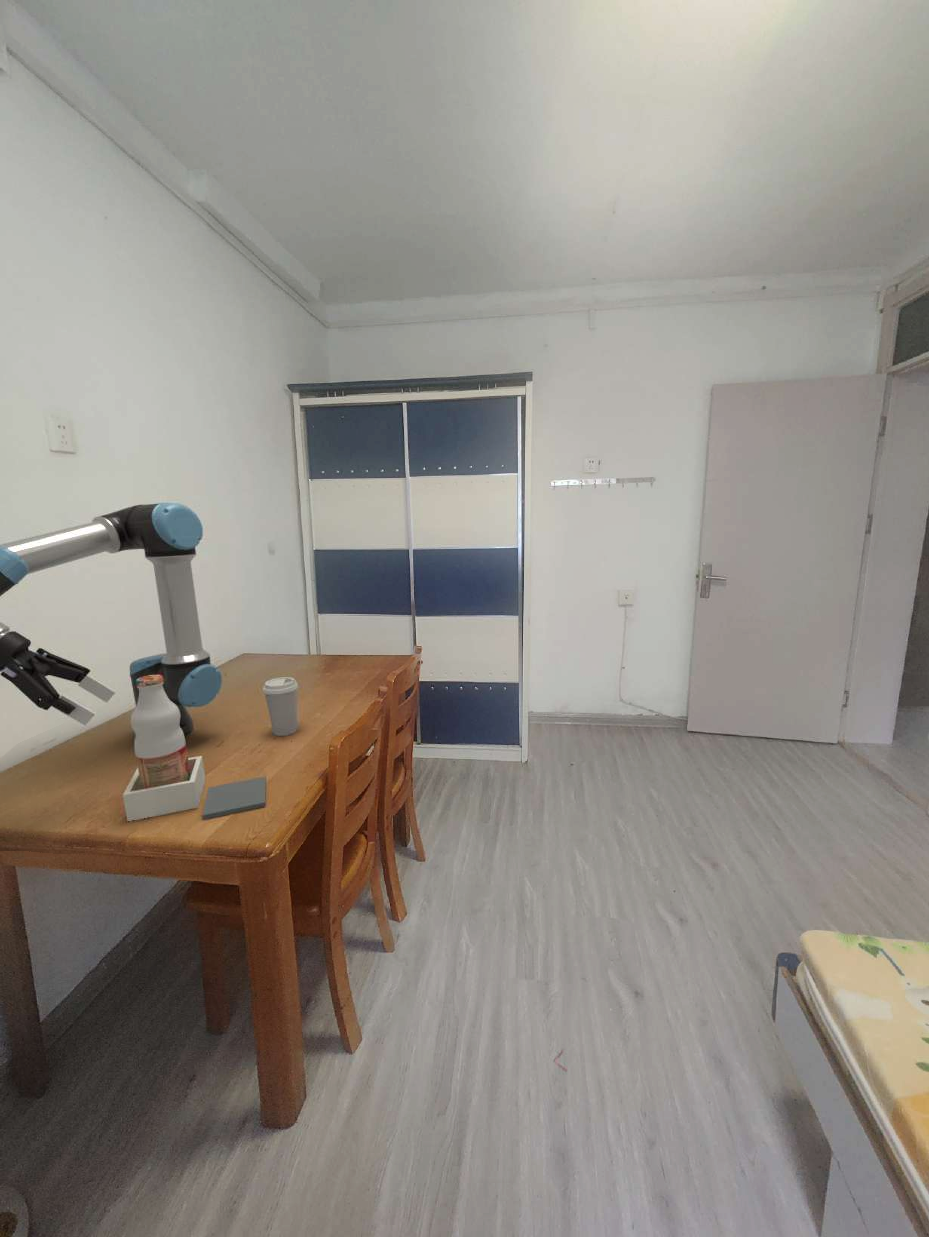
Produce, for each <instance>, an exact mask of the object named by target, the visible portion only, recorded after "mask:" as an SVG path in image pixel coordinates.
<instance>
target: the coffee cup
mask: <svg viewBox="0 0 929 1237" xmlns="http://www.w3.org/2000/svg"><path fill="white" fill-rule="evenodd" d="M298 688H299V684H298V683H297V681H296V680H295V678H293V677H289V676H287V677H285V676H284V677H282V676H281V677H276V678H271V679H269V680H267V681H265V683H264V686H263V687H262V693H263V694H264V696H265V701H266V706H267V709H268V713H269V714H268V715H269V717H270V718H269V719H270V723H271V728H272V732H273V735H274V736H277V737H285V736H286V737H287V736H291V735H293V734H295V733H297V731H298ZM290 734H291V735H290Z"/></svg>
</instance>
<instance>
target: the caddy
mask: <svg viewBox="0 0 929 1237" xmlns="http://www.w3.org/2000/svg"><path fill="white" fill-rule="evenodd" d="M188 762H189V769H190V775H191V778H190V781H185V782H179V783H174V784H169V785H163V786H158V787H152V788H147V789H141V783H140V777H139V772H138V767H137V768H136V770H135V772H134V774H133V776H132V778H131V779H130V781H129V783H128V785H127V786H126V789H125V791H124V792H123V794H122V797H123V798H122V799H123V804H124V810H125V815H126V820H127V822H128V821H130V822H133V821H132V820H135V821H139V820H144V818H145V819H148V817H149V818H152V817H153V818H155V817H158V816H163V815H169V814H173V813H179V812H182V811H183V812H184V811H187V810H188V811H189V810H194V809H198V808H199V806H200V803H201V802H200V801H201V798H202V794H203V791H204V787H205V784H206V782H205V781H206V772H205V766H204V760H203V756H202V755H200V756H194V757H193V756H192V757H188Z"/></svg>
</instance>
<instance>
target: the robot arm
mask: <svg viewBox="0 0 929 1237" xmlns="http://www.w3.org/2000/svg"><path fill="white" fill-rule="evenodd" d="M203 533H204V531H203V525H202V522H201V519H200V518H199V516H198V514H197V513H196V512H195V511H193V510H192V509H191V508H190V507H188V506H187V505H184V504H181V503H174V502H161V503H151V504H137V505H132V506H128V507H125V508H121V509H120V510H117V511H113V512H110V513H107V514H103V515H99V516H95V517H94V518H93V519H92V520H91V522H88V523H83V524H81V525H76V526H73V527H68V528H63V529H59V530H56V531H50V532H47V533H43V534H39V535H34V536H31V537H28V538H27V537H26V538H23V539H18V540H14V541H10V542H6V543H3V544H0V597H2V596H3V595H4V594H5V593H7V592H8V591H9V590H11V589H12V588H13V587H15V586H16V585H18V584H19V582H21V581H22V580H23V579H24V578H25V577H26V576H27V575H28V574H29V575H31V574H34V573H36V572H40V571H43V570H47V569H51V568H54V567H57V566H61V565H63V564H67V563H71V562H74V561H77V560H81V559H84V558H88V557H90V556H94V555H99V554H101V553H104V552H107V553H108V554H116V553H119V552H122V551H123V552H124V551H130V550H132V551H133V550H143V551H144V558H145V559H147V561H150V563H152V565H153V571H154V577H155V584H156V591H157V597H158V604H159V610H160V611H159V612H160V618H161V624H162V631H163V638H164V645H165V651H166V652H165V653H159V654H154V655H150V656H146V657H145V656H144V657H142V658H138V659H136V660H134V661H132V662H131V663H130V664H129V677H130V680H131V688H132V693H133V697H134V704H135V707H136V706H137V703H138V698H139V688H137V685H136V680H137V679H138V678H141V677H144V676H148V675H162V676H163V679H164V681H163V682H164V683H163V689H164V691H165V693H166V695H167V697H168V698H169V699H170V701H172V702H173V703H174V704H175V705H177V707H178V708H179V711H180V723H179V725H180V728H181V729H182V731H183V733H184V736H186V735H187V734H189V733H191V732H192V731H194V727H195V726H194V720H193V718H192V716H191V714H190V712H189V711H188V709H187V708H192V707H193V708H194V707H195V708H199V707H200V708H201V707H203V706H206V705H208V704H210V703H211V702H212V701H214V699H216V696H217V695H218V694H219V693H220V690H221V688H222V685H223V676H222V673H221V671H220V669H219V668H217V667H216V666H215V665H213V664H211V656H210V653H209V652H208V651H207V650H205V649H204V648H203V643H202V637H201V636H202V634H201V628H200V621H199V614H198V608H197V607H198V605H197V600H196V592H195V591H196V590H195V583H194V577H193V571H192V570H193V569H192V560H194V558H195V557H196V556H197V552H196V551H197V550H196V547H197V546H198V545H199V544H200V541H201V540H202V539H203ZM31 645H32V641H31V640H30V639H28V638H27V637H25V635H22V634H20V633H19V632H17V631H15V630H11V631H10V627H9V626H8V625H6V624H5V623H3V622H1V621H0V676H1V677H3V678H4V679H6V680H8V681H9V682H10V683H11V684H12V685H14V687H16V688H17V689H18V690H19V691H20V692H21V693H22V694H23V695H24V696H26V697H27V699H29V700H30V701H31V702H32V703H33V704H34V705H36V707H38V708H39V709H42V710H44V711H48V710H49V709H50V708H53V709H56V710H57V711H59V712H60V713H62V714H64V715H66V716H68V717H69V718H71V719H73V720H75V721H77V722H78V723H80V724H82V725H84V726H86V725H87V724H88V723H89V722H90V721H91V720H92V719H93V717H94V716H95V715H96V714H97V713H96V712H95V711H93V710H92V709H90V708H88V707H87V706H84V704H83V705H82V703H80V702H78V701H76V700H74V699H73V698H71V697H69V696H68V695H66V694H64V693H63V694H61V695H60V694H59V693H58V691H57V690H56V689H55V686H54V685H53V684H52V683H51V682H50V680H48V678H47V677H48V676H51V677H55V678H59V679H62V680H66V681H69V682H73V683H78V684H77V686H78V687H79V688H81V689H83V690H85V691H87V692H88V693H90V694H91V695H94V696H95V697H97V699H100V700H102V702H105V703H108V702H109V701H110V700H111V698H112V697H114V695H115V694H116V693H117V691H116V690H115V689H112V688H111V687H110V686H108V685H106V684H104V683H103V682H101V681H99V680H97V679H96V678H94V677H93V676H91V675H89V673H90V672H91V669H89V668H87V667H85V666H83V665H80V664H78V663H75V662H73V661H71V660H68V659H66V658H64V657H61V656H58V655H55V654H53V653H51V652H49V650H45V648H44V649H43V648H42V647H38V648H37V649H36V651H35V652H34V651H32V650H30V646H31ZM186 707H187V708H186ZM132 730H133V729H132ZM132 734H133V739H134V740H133V742H134V741H135V738H136V734H135V732H134V730H133V731H132Z"/></svg>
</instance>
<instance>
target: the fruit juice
mask: <svg viewBox="0 0 929 1237" xmlns="http://www.w3.org/2000/svg"><path fill="white" fill-rule="evenodd" d="M163 681H164V679H163V676H162V675H148V676H144V677H141V678H138V679H137V680H136V685H137V688H139V698H138V703H137V706H136V705H135V708H134V709H133V711H132V714H131V716H130V726H131V728H132V730H134V732H135V734H136V738H135V741H134V740H133V742H134V743H133V748H134V755H135V760H136V764H137V765H136V766H137V768H138V772H139V777H140V783H141V789H147V788H152V787H158V786H163V785H169V784H174V783H179V782H185V781H190V778H191V775H190V769H189V762H188V758H189V756H188V750H187V745H186V744H187V743H186V738H185V735H184V733H183V731H182V729H181V728H180V725H179V723H180V711H179V708H178V707H177V705H175V704H174V703H173V702H172V701H170V699H169V698H168V697H167V695H166V693H165V691H164V689H163V683H164V682H163Z"/></svg>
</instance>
